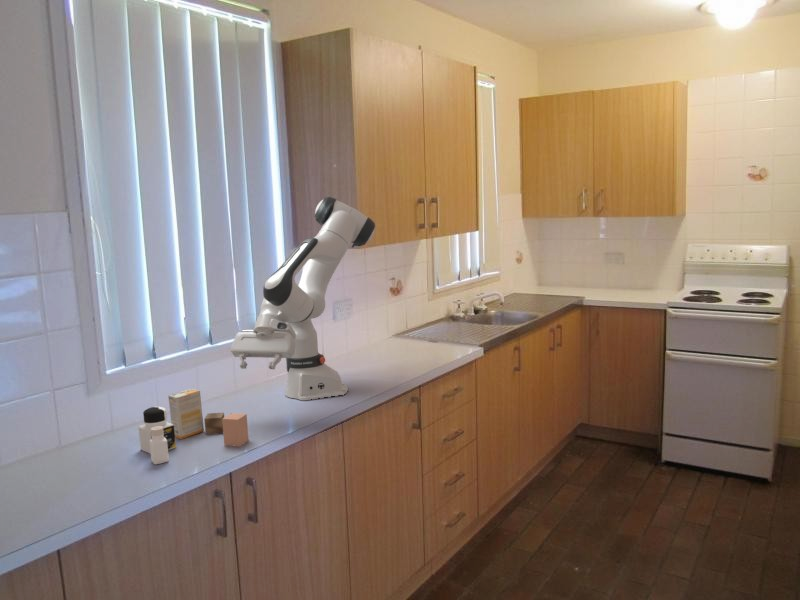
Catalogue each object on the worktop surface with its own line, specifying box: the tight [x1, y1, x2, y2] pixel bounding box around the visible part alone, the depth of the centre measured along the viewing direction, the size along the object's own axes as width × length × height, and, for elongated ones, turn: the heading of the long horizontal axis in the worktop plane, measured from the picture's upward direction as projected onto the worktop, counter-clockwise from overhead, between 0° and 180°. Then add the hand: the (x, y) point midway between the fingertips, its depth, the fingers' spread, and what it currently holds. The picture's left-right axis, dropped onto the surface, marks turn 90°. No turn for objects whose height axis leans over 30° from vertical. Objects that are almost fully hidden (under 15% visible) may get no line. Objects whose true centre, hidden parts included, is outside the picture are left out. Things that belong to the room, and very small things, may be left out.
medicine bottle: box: [138, 406, 177, 455], centre depth 186 cm, size 7×7×12 cm
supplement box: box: [167, 388, 205, 440], centre depth 197 cm, size 8×5×13 cm, turn 141°
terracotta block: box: [222, 412, 249, 447], centre depth 188 cm, size 5×5×8 cm
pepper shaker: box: [149, 426, 170, 465], centre depth 176 cm, size 4×4×10 cm
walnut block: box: [203, 411, 225, 435], centre depth 199 cm, size 5×5×5 cm
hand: (256, 368), depth 198 cm, fingers open, 8 cm apart
